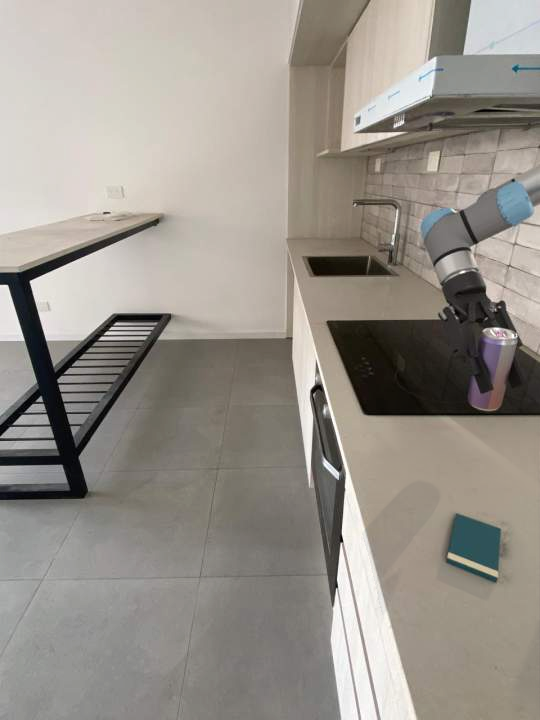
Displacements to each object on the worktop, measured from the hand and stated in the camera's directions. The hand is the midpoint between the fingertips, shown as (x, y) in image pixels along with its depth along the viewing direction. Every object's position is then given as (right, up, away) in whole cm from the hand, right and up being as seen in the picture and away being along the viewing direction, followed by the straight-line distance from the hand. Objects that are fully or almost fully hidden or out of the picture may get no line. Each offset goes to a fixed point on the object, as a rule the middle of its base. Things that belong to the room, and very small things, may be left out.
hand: (503, 388), depth 72 cm
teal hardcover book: (-14, -21, -17) cm, 30 cm away
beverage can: (-1, -4, +6) cm, 7 cm away
